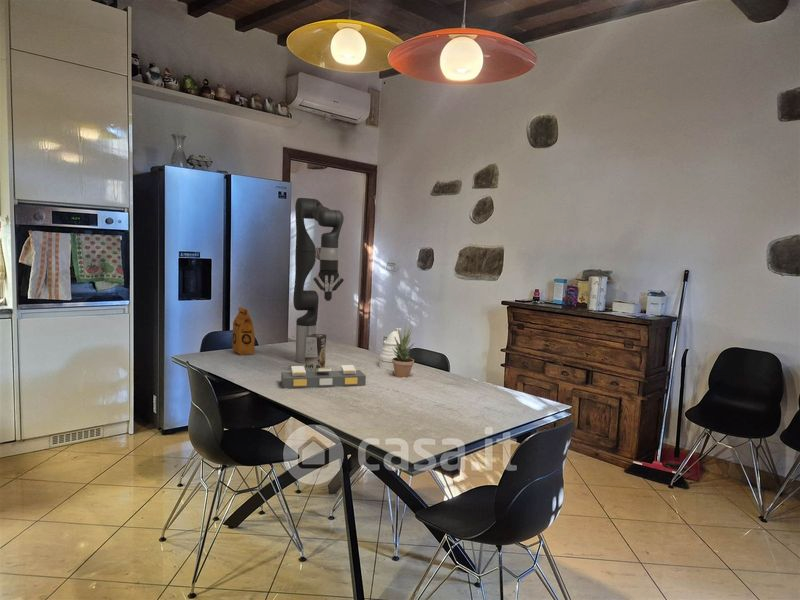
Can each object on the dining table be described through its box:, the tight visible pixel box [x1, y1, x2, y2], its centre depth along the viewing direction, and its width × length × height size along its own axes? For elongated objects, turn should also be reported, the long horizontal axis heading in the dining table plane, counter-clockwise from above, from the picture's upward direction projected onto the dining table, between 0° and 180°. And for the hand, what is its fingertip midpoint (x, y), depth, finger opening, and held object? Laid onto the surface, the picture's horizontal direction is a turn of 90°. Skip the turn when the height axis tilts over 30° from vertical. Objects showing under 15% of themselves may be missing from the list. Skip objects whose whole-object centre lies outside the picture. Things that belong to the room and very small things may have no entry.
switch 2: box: [316, 367, 332, 372], centre depth 223 cm, size 6×5×1 cm
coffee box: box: [304, 333, 327, 372], centre depth 242 cm, size 9×6×16 cm
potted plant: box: [392, 322, 415, 378], centre depth 242 cm, size 10×10×25 cm
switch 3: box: [340, 364, 357, 374], centre depth 226 cm, size 6×5×1 cm
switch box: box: [280, 369, 367, 389], centre depth 223 cm, size 11×32×4 cm, turn 108°
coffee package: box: [231, 306, 256, 356], centre depth 274 cm, size 10×12×22 cm
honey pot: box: [378, 327, 408, 371], centre depth 259 cm, size 13×13×18 cm
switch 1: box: [290, 365, 306, 376], centre depth 220 cm, size 6×5×1 cm
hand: (327, 300), depth 233 cm, fingers closed
